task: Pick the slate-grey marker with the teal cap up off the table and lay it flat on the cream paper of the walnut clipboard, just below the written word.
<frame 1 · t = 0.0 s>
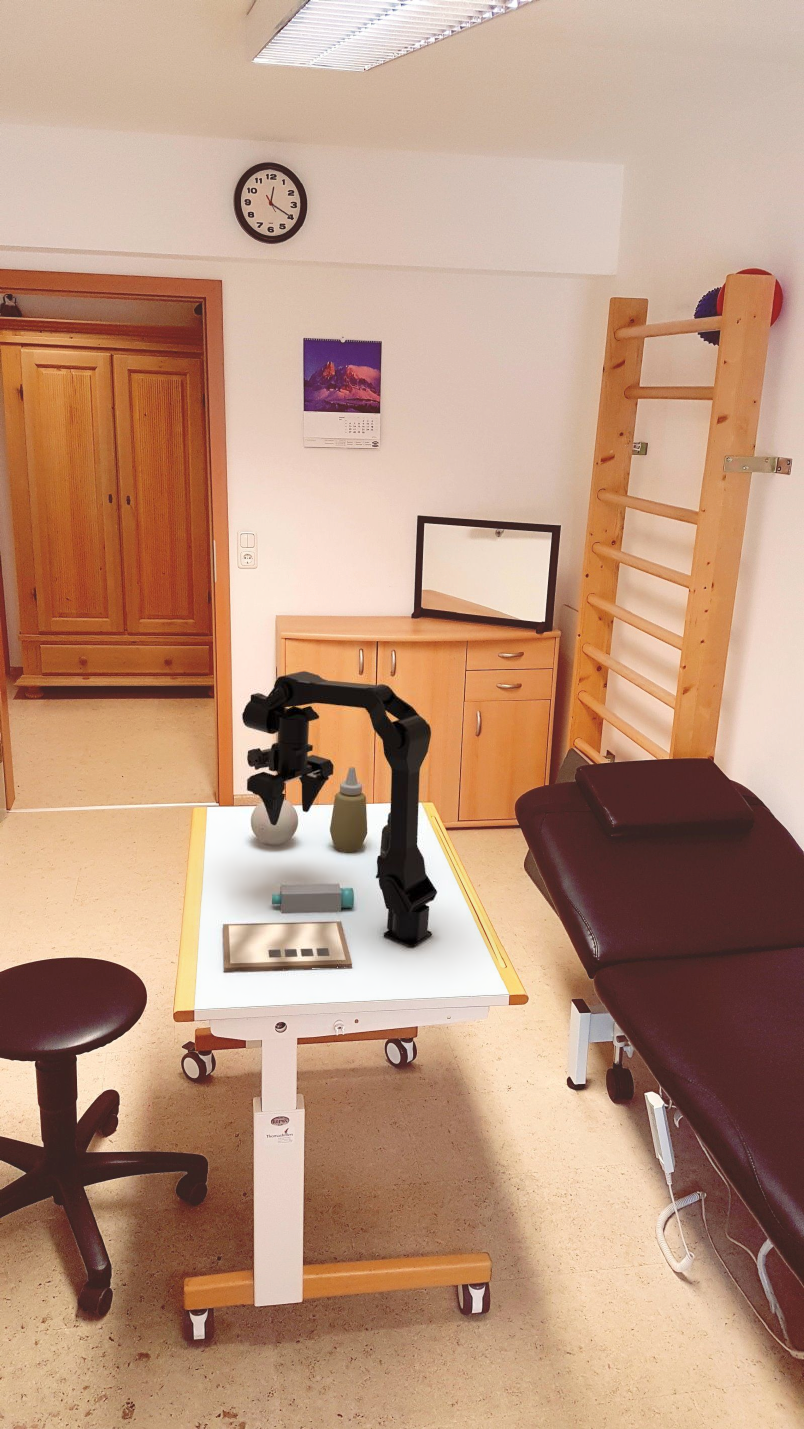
hand: (289, 818, 192), 15 cm above the table, tool pointing down, fingers open, 9 cm apart
supplement bottle: (395, 870, 209), on the table
clipboard: (285, 947, 175), on the table
beige ball: (273, 843, 217), on the table
squeeze bottle: (347, 848, 218), on the table
marker: (310, 908, 190), on the table
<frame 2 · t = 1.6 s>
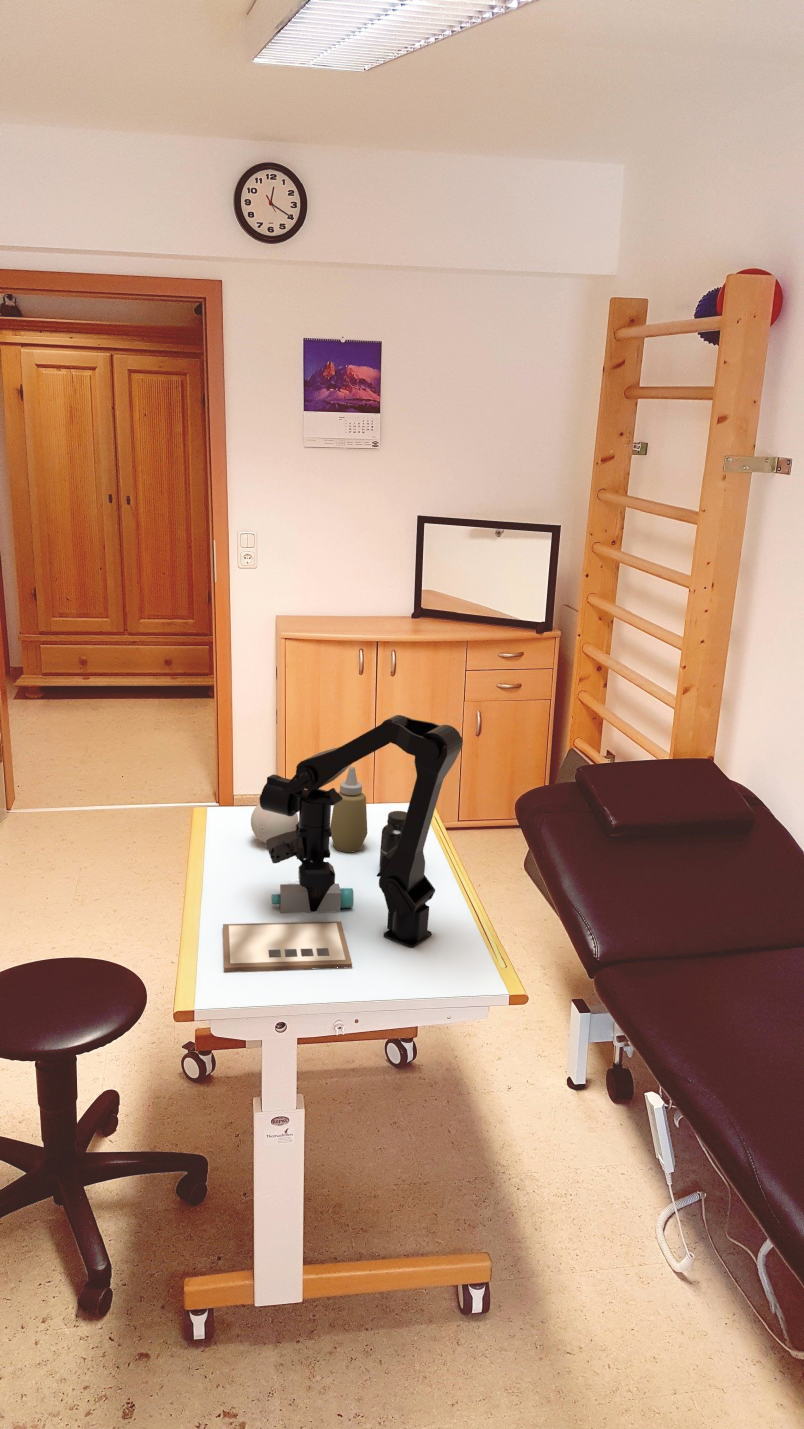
hand: (310, 899, 189), 2 cm above the table, tool pointing down, fingers open, 9 cm apart
nothing on the table moved.
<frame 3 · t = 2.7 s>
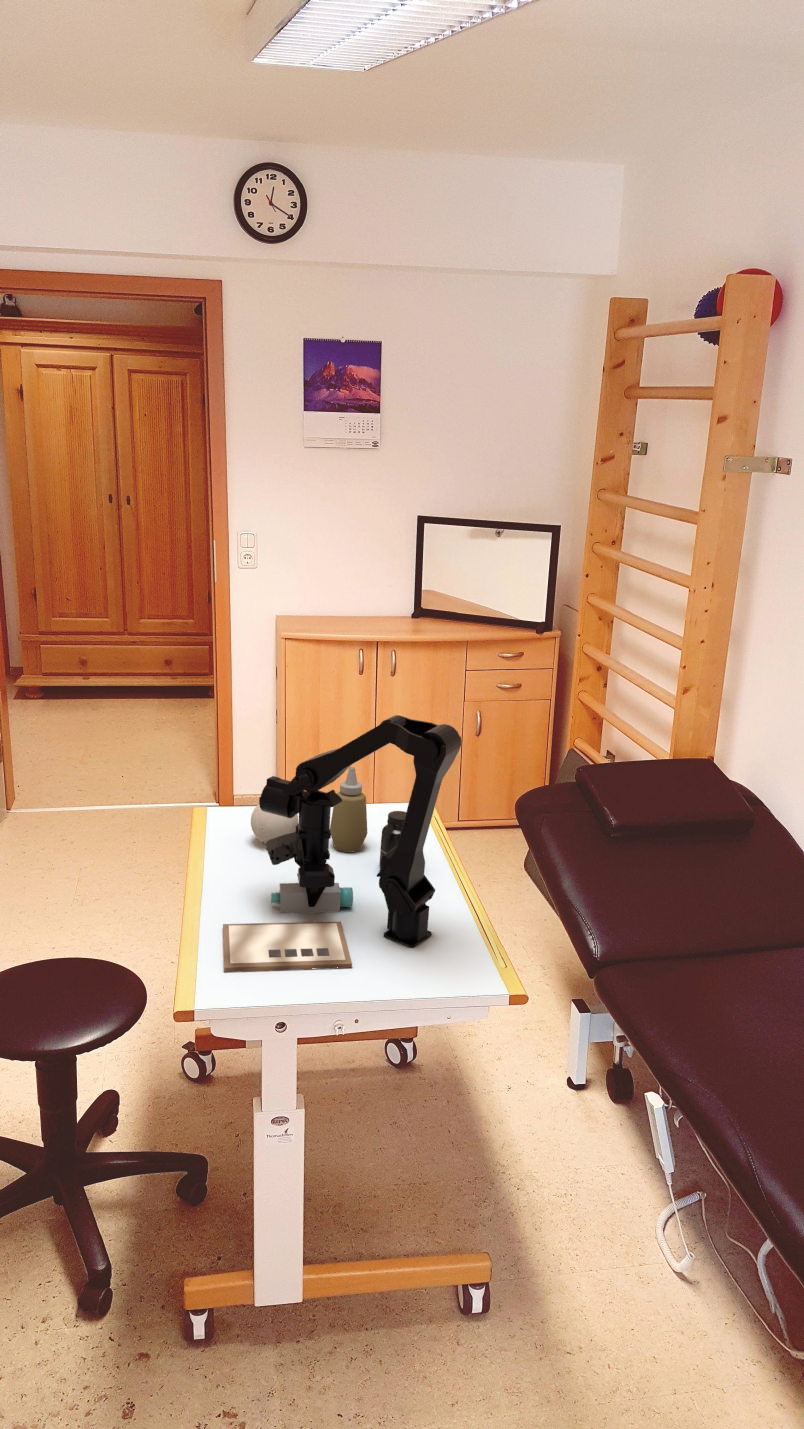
hand: (310, 901, 189), 1 cm above the table, tool pointing down, fingers closed on marker, 4 cm apart
marker: (309, 907, 190), on the table, touching gripper
everything else where it was.
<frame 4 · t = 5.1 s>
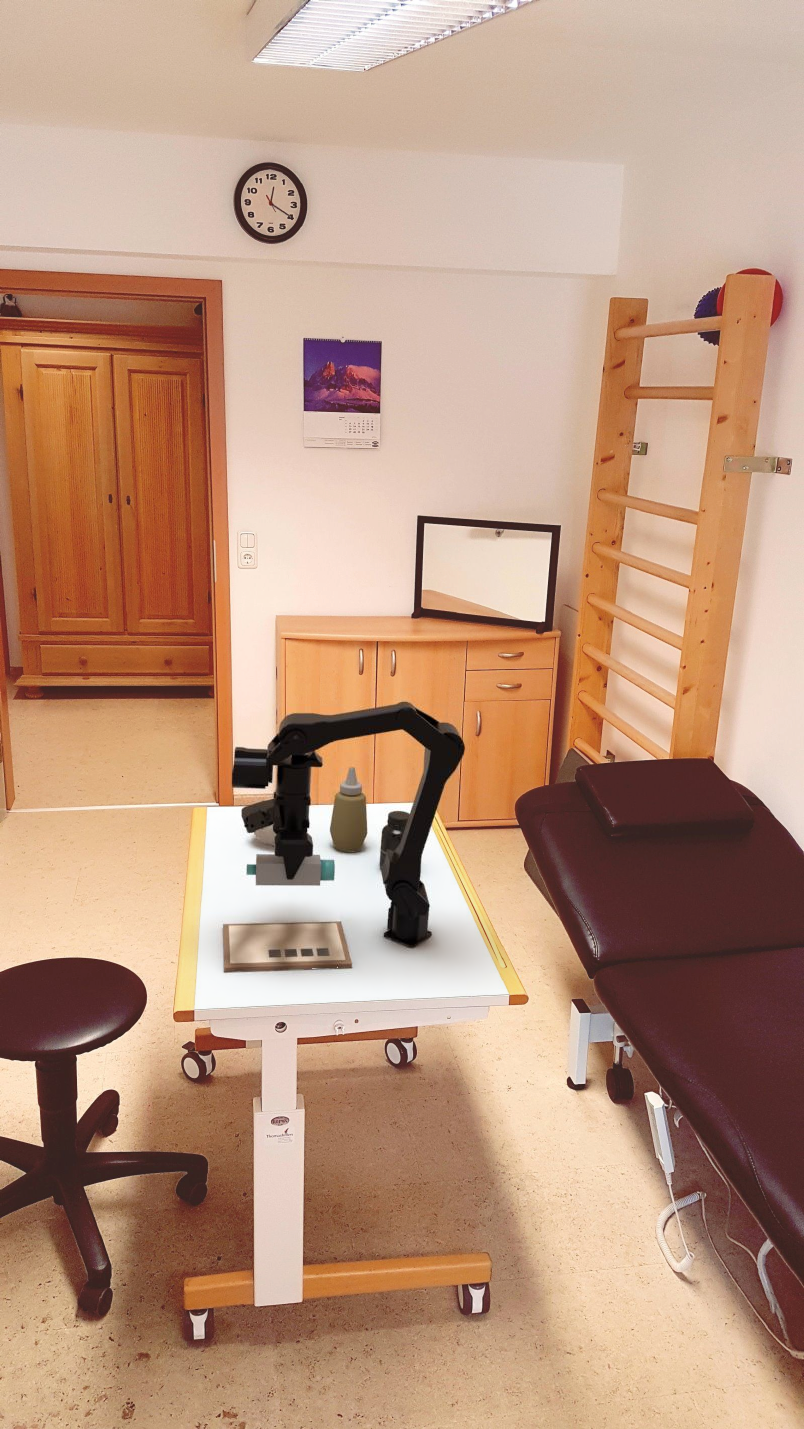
hand: (289, 873, 176), 12 cm above the table, tool pointing down, fingers closed on marker, 4 cm apart
marker: (287, 880, 176), point 10 cm above the table, touching gripper
everything else where it was.
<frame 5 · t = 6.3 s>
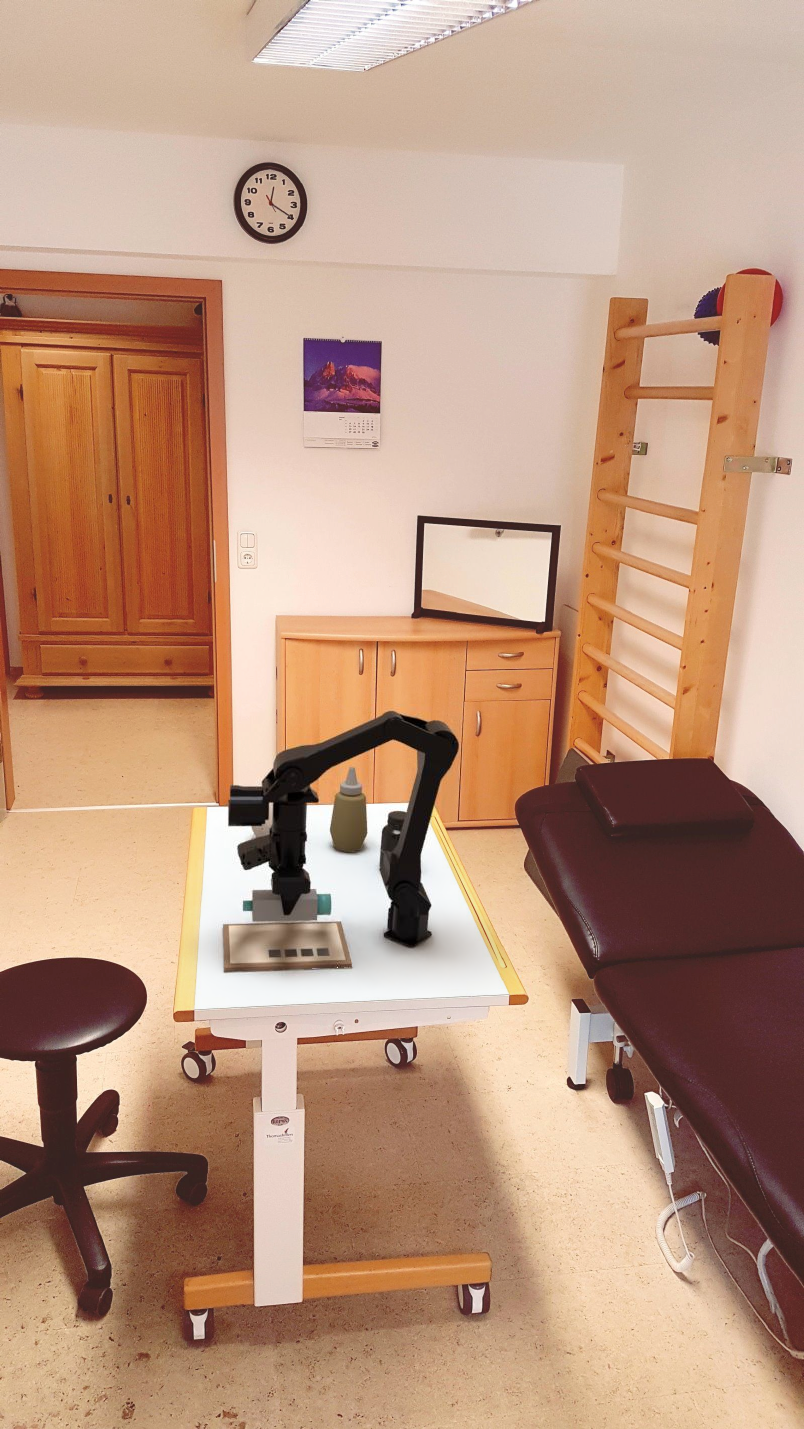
hand: (285, 909, 176), 6 cm above the table, tool pointing down, fingers closed on marker, 4 cm apart
marker: (284, 915, 176), point 5 cm above the table, touching gripper
everything else where it was.
when the fingers open (4 cm above the table, at t = 7.5 s): marker drops 1 cm, resting on clipboard.
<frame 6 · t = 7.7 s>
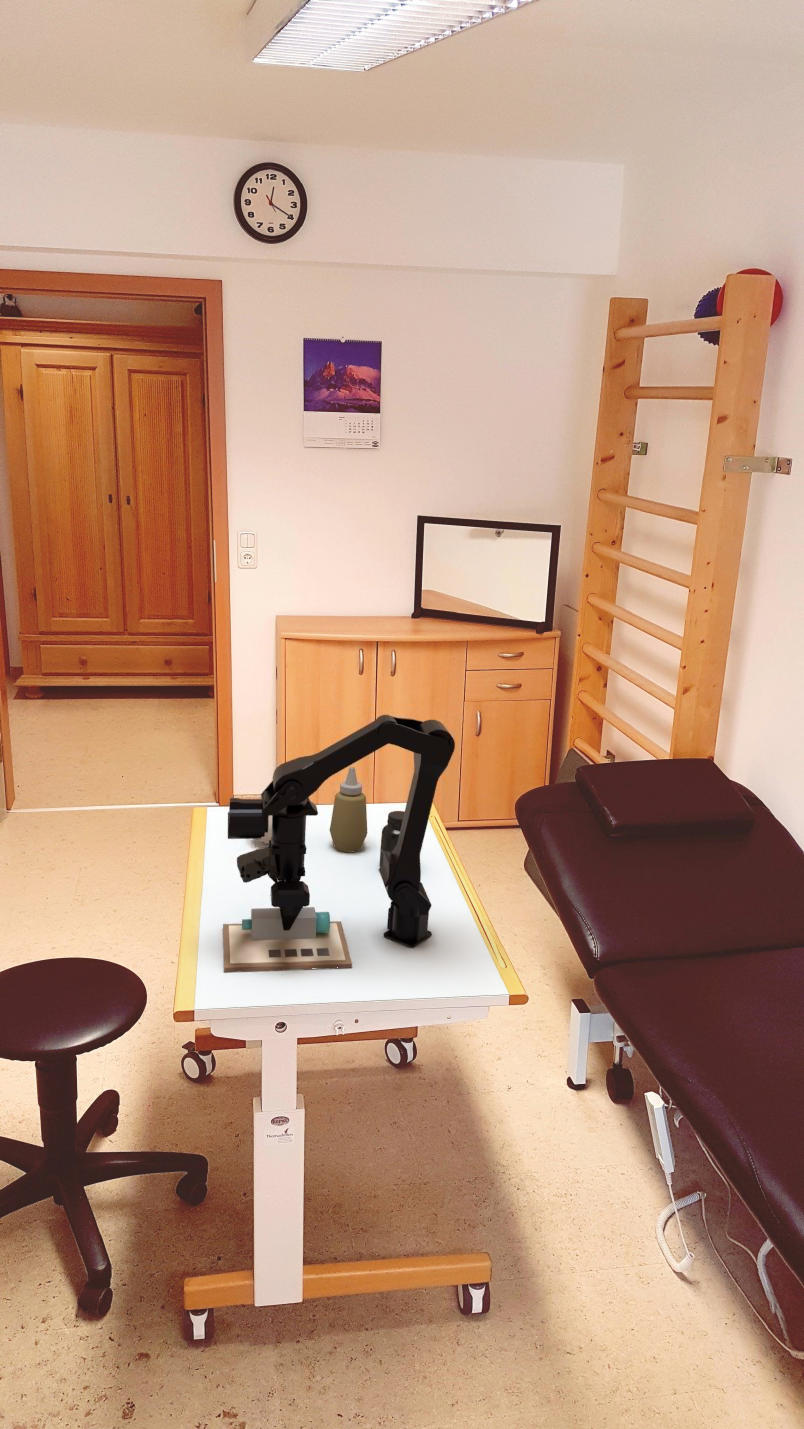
hand: (285, 920, 176), 4 cm above the table, tool pointing down, fingers open, 6 cm apart
marker: (283, 934, 177), point 1 cm above the table, touching clipboard
everything else where it was.
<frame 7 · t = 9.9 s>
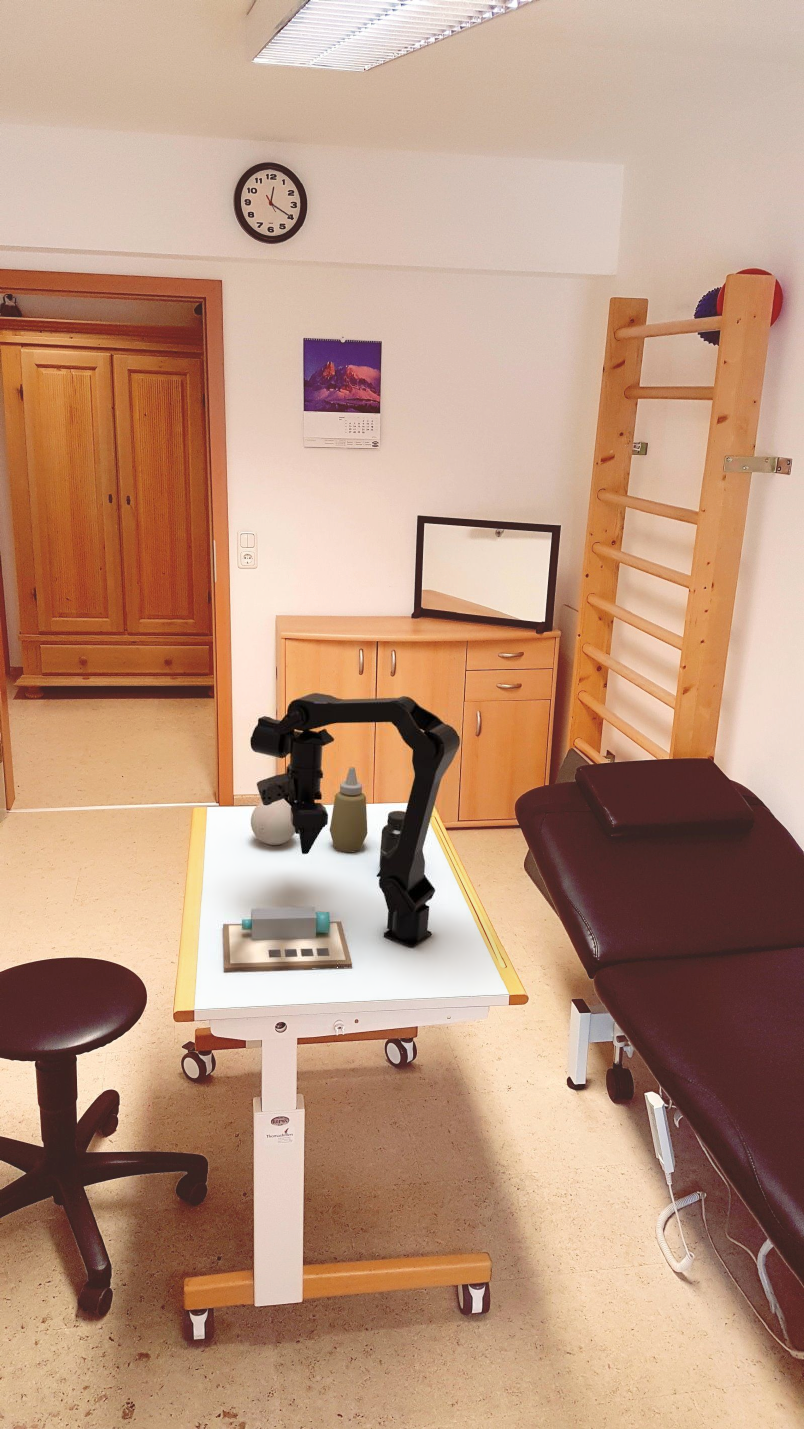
hand: (301, 843, 187), 12 cm above the table, tool pointing down, fingers open, 9 cm apart
nothing on the table moved.
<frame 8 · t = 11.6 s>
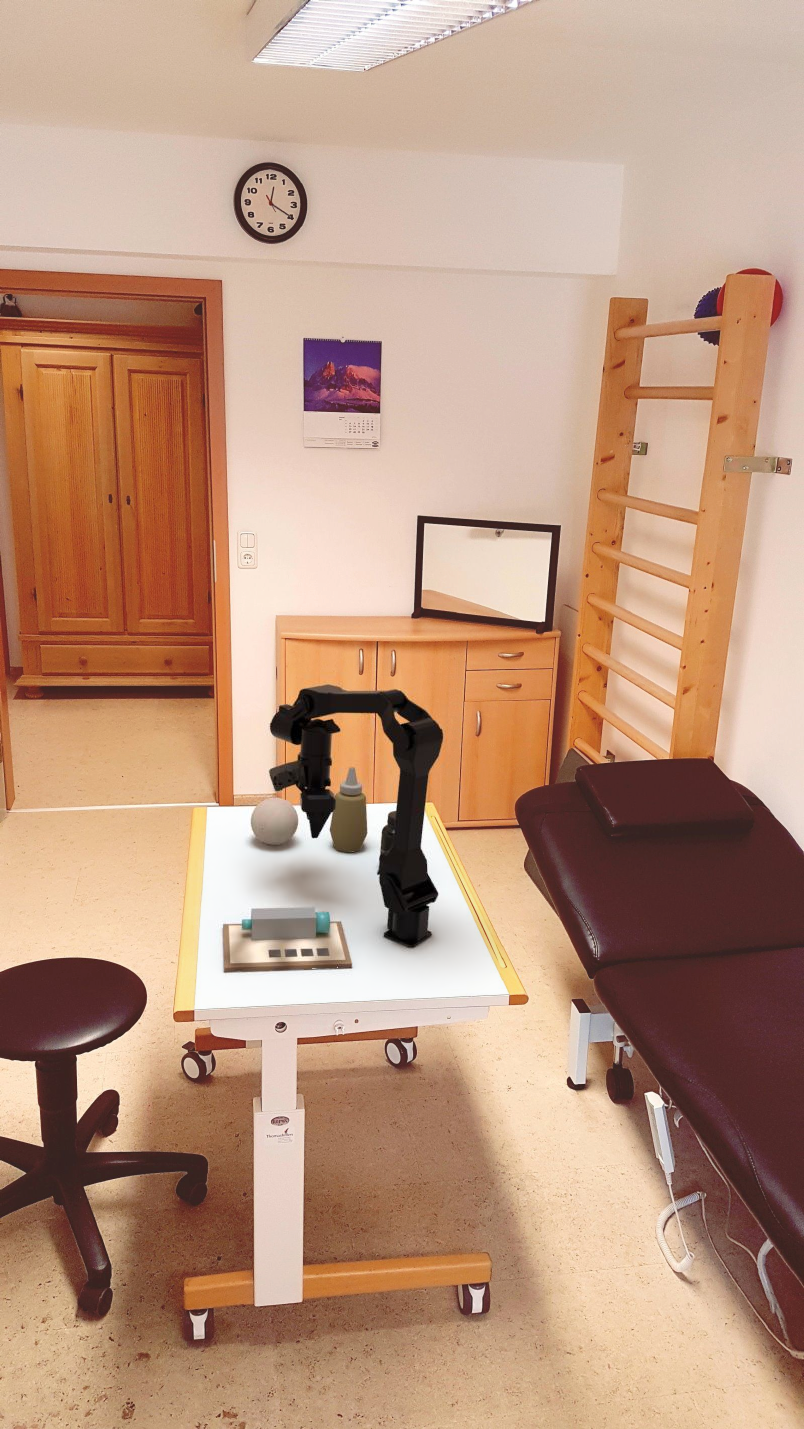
hand: (312, 828, 195), 12 cm above the table, tool pointing down, fingers open, 9 cm apart
nothing on the table moved.
at the end: marker inside the target area on the clipboard (0.3 cm from its centre), point 1.0 cm above the clipboard's base; marker tilted 0°; the gripper is holding nothing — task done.
